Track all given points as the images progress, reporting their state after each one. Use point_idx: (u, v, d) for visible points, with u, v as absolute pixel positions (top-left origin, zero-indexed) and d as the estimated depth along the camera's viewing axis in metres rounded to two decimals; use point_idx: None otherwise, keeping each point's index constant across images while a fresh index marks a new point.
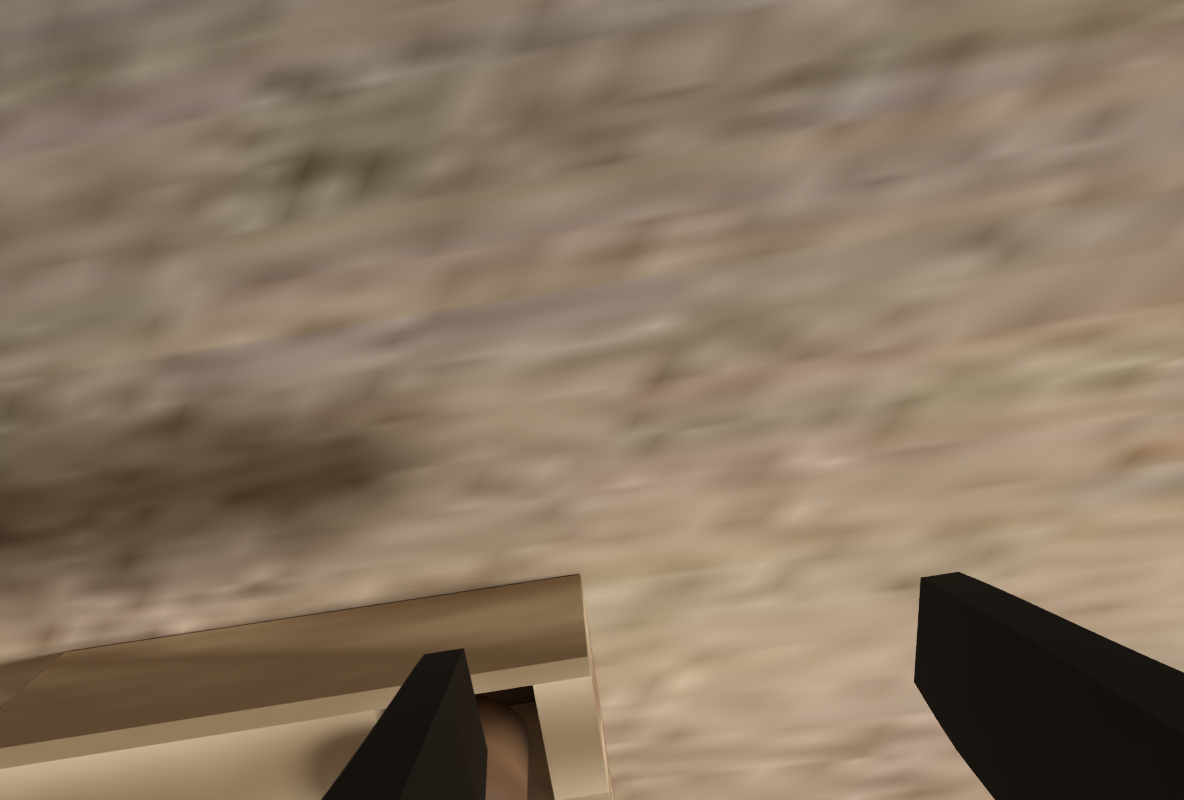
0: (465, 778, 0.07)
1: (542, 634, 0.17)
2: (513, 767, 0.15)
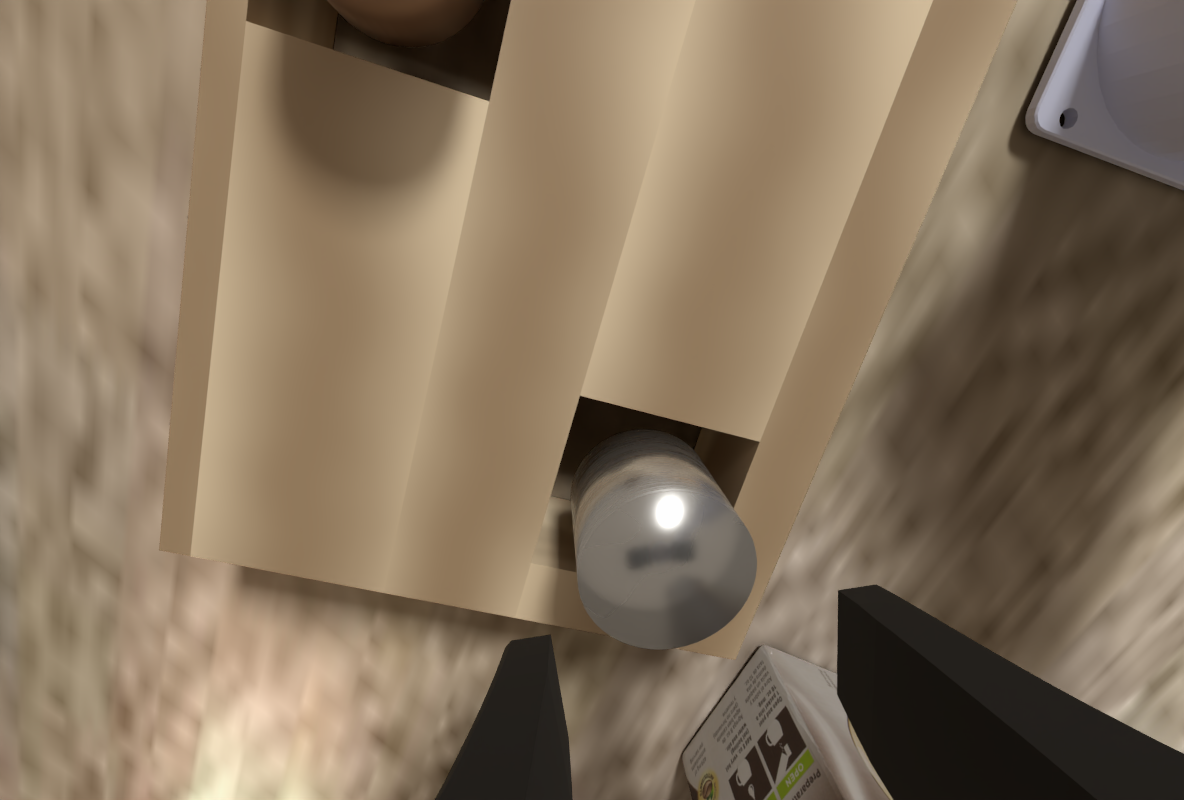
0: (561, 763, 0.07)
1: None
2: None
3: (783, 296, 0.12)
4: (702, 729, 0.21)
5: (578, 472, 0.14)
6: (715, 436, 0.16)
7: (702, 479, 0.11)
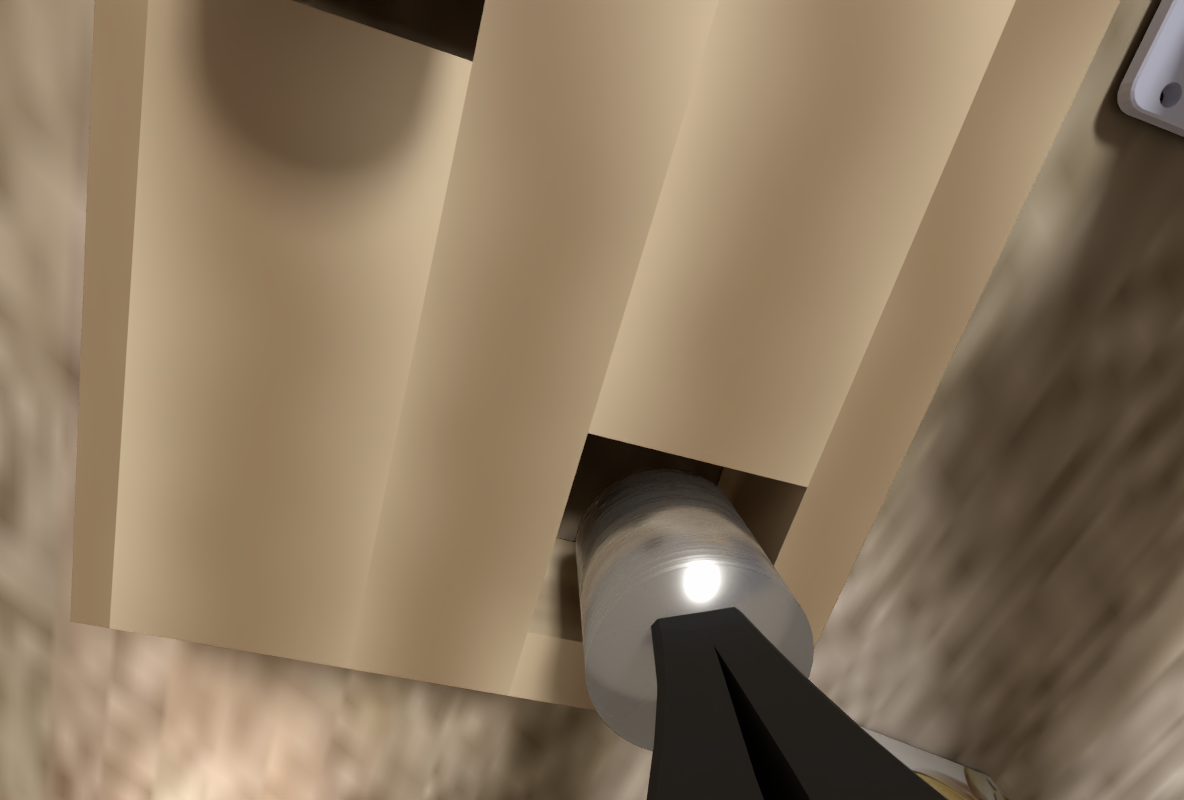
0: None
1: None
2: None
3: (840, 311, 0.10)
4: None
5: (585, 520, 0.11)
6: (745, 472, 0.14)
7: (742, 541, 0.09)
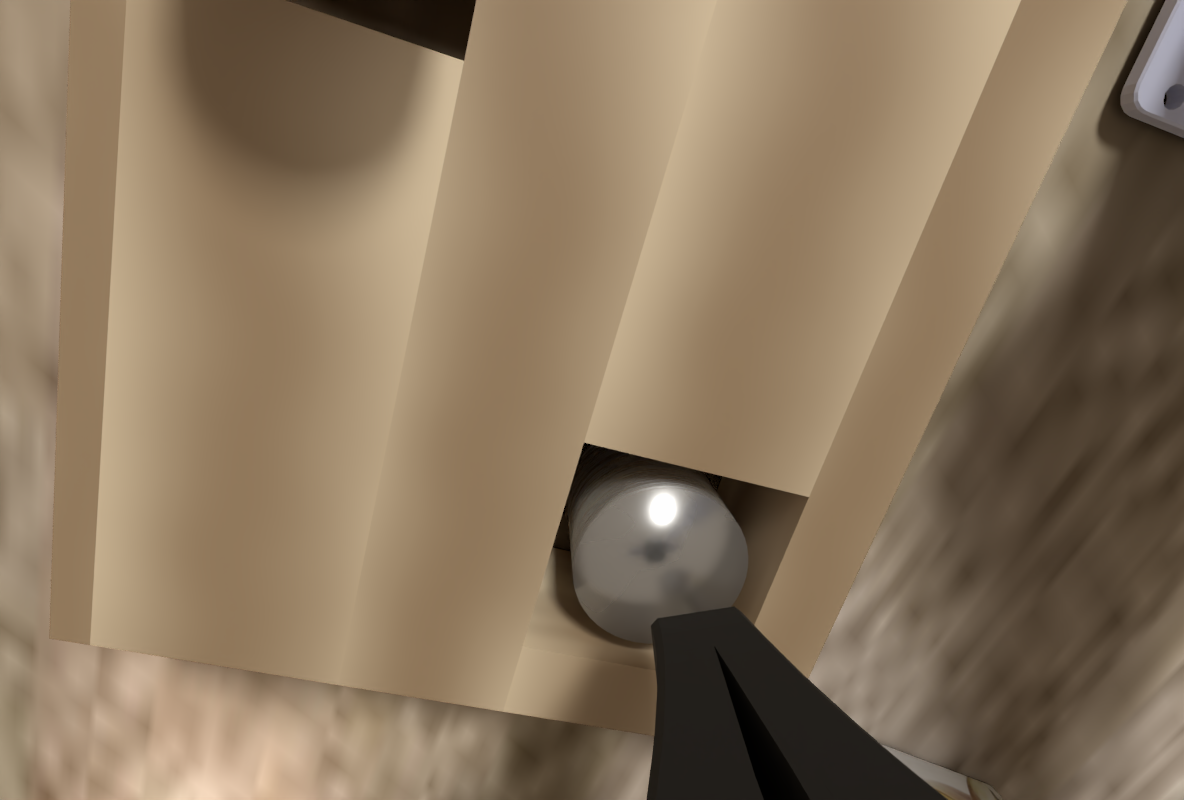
0: None
1: None
2: None
3: (843, 317, 0.10)
4: None
5: None
6: None
7: (695, 477, 0.12)
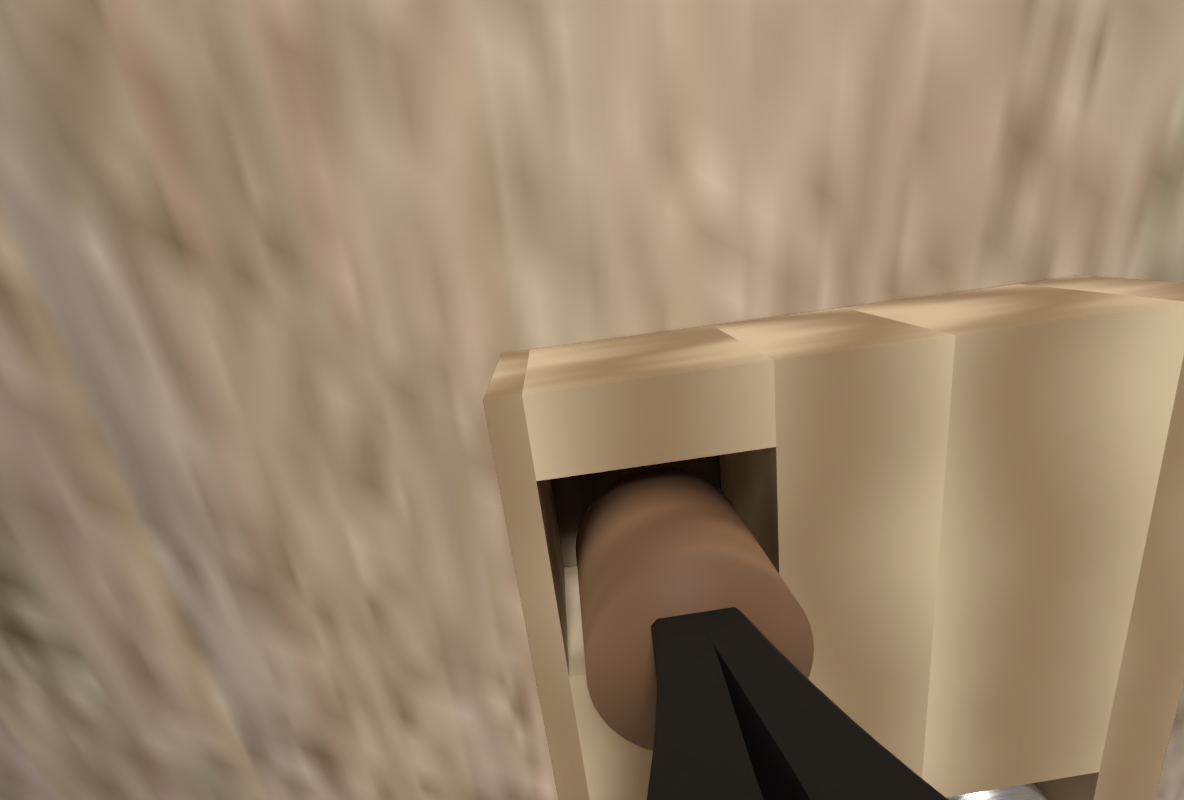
0: None
1: None
2: (622, 528, 0.10)
3: (1090, 665, 0.13)
4: None
5: None
6: None
7: None
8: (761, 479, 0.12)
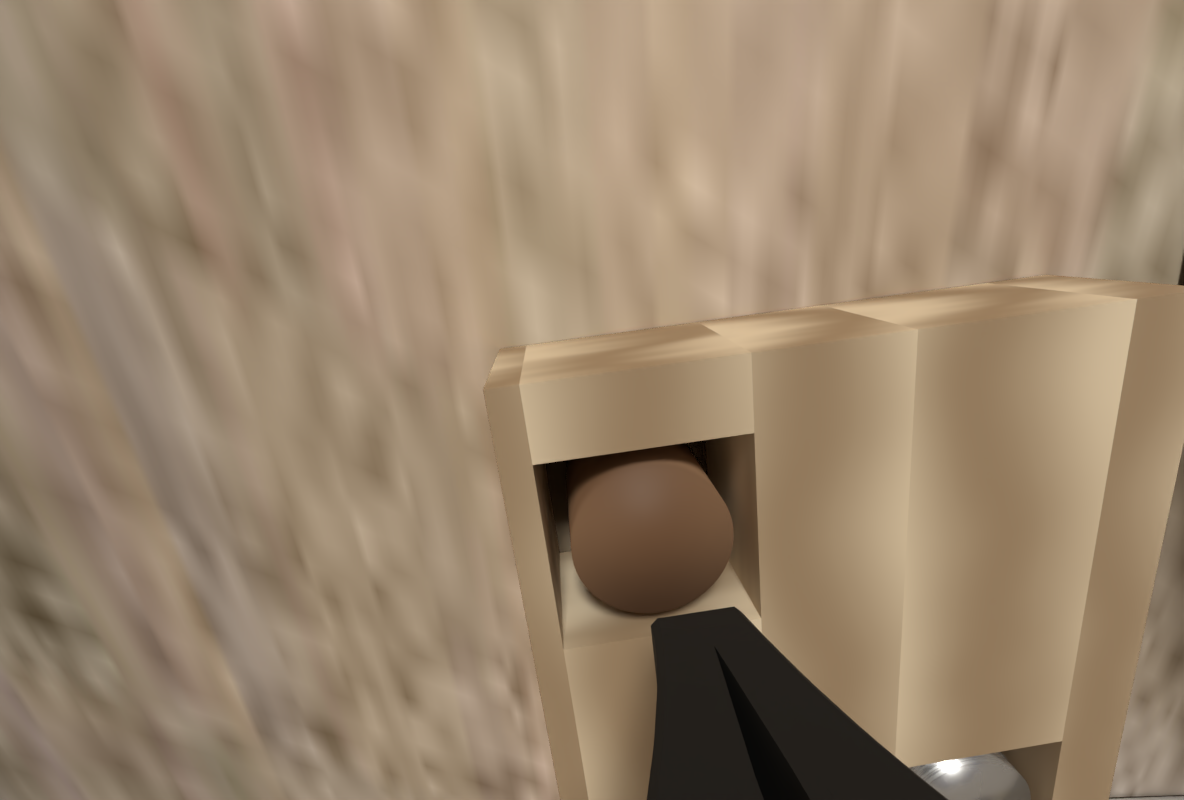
0: None
1: None
2: None
3: (1050, 638, 0.14)
4: None
5: None
6: None
7: None
8: (742, 464, 0.12)
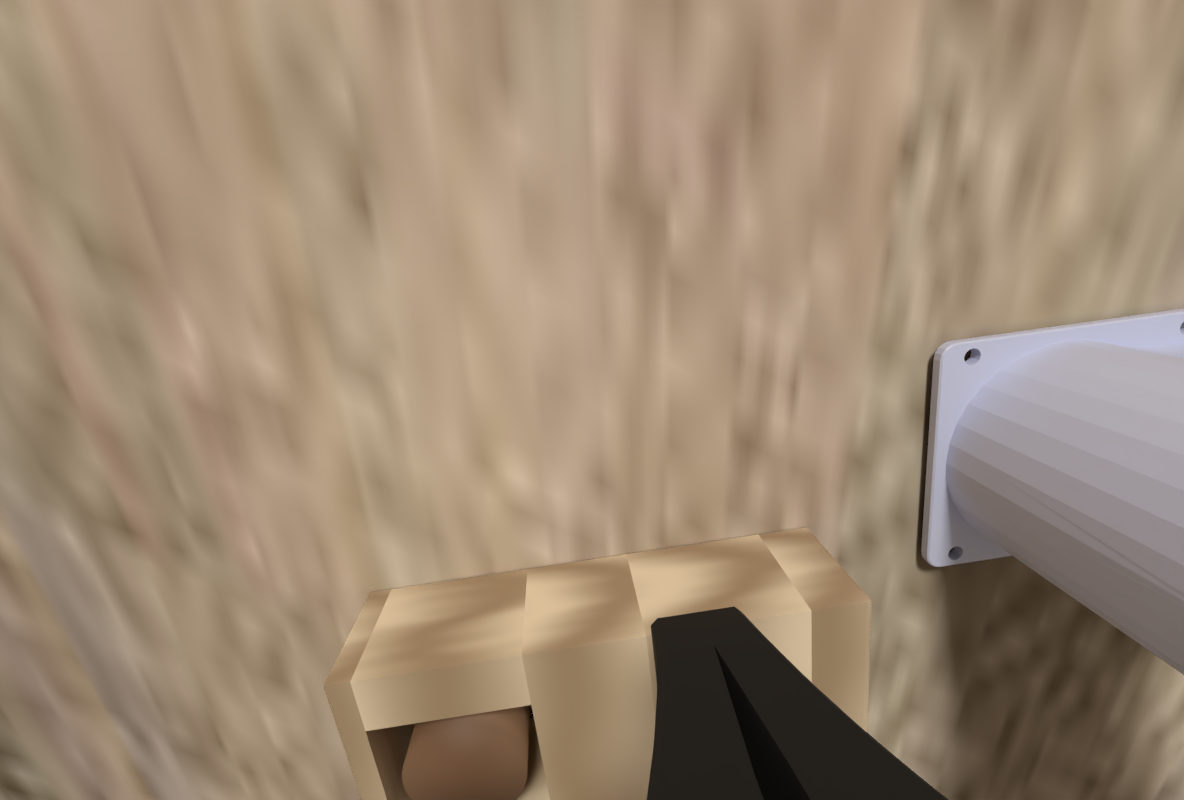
0: None
1: None
2: None
3: None
4: None
5: None
6: None
7: None
8: None
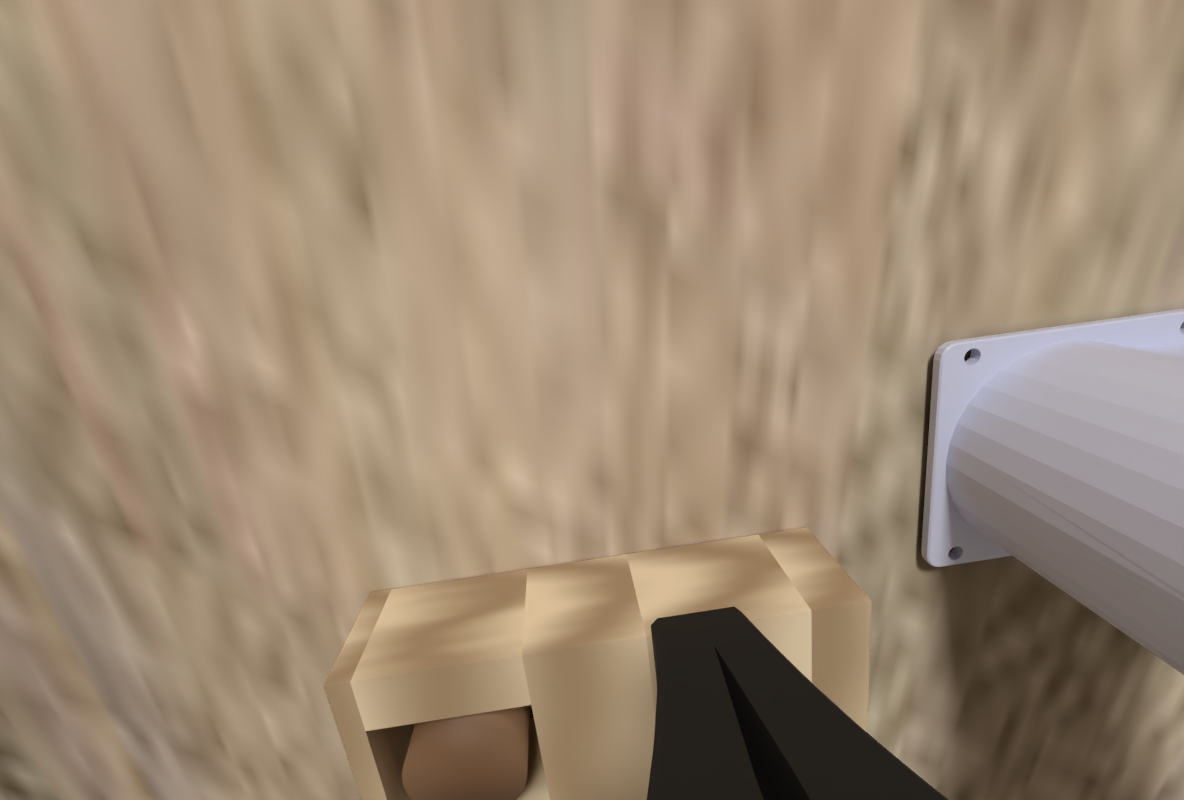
0: None
1: None
2: None
3: None
4: None
5: None
6: None
7: None
8: None
